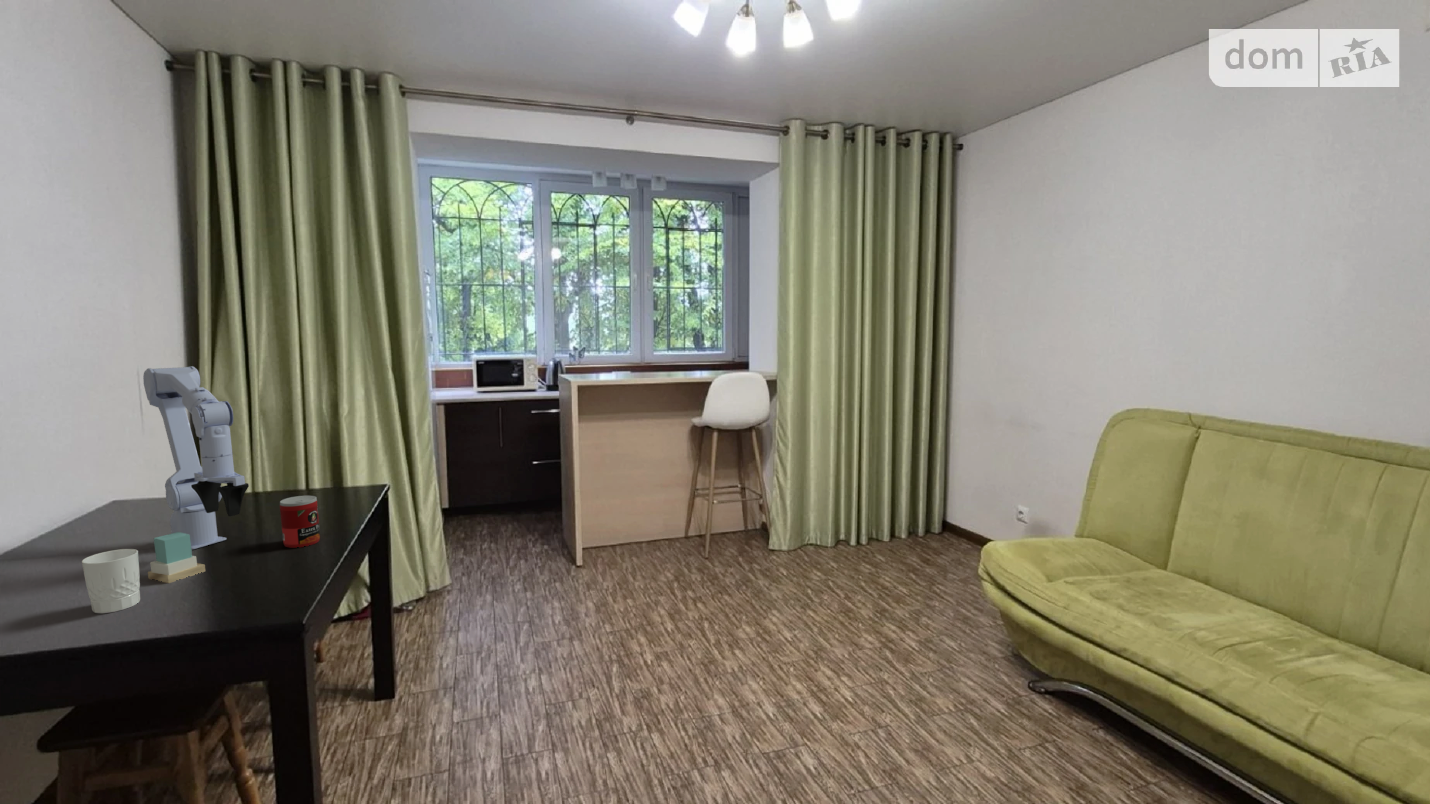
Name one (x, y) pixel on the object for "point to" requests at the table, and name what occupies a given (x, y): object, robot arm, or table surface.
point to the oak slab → (177, 574)
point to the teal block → (172, 547)
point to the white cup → (112, 580)
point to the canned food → (299, 521)
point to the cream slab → (173, 566)
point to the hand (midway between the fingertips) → (223, 513)
